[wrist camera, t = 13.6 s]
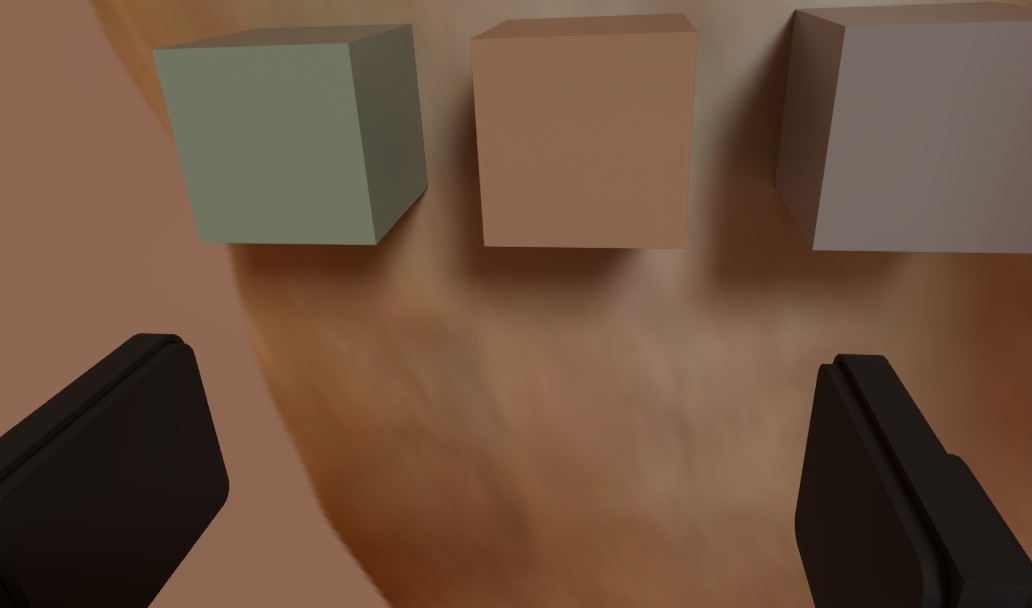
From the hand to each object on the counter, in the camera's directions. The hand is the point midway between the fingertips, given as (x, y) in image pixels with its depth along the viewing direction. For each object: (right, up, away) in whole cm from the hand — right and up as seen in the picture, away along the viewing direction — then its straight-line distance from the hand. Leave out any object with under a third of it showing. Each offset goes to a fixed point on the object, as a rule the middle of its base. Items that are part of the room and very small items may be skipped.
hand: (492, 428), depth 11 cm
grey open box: (+16, +11, +20) cm, 28 cm away
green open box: (-8, +11, +24) cm, 28 cm away
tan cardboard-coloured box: (+4, +11, +22) cm, 25 cm away
